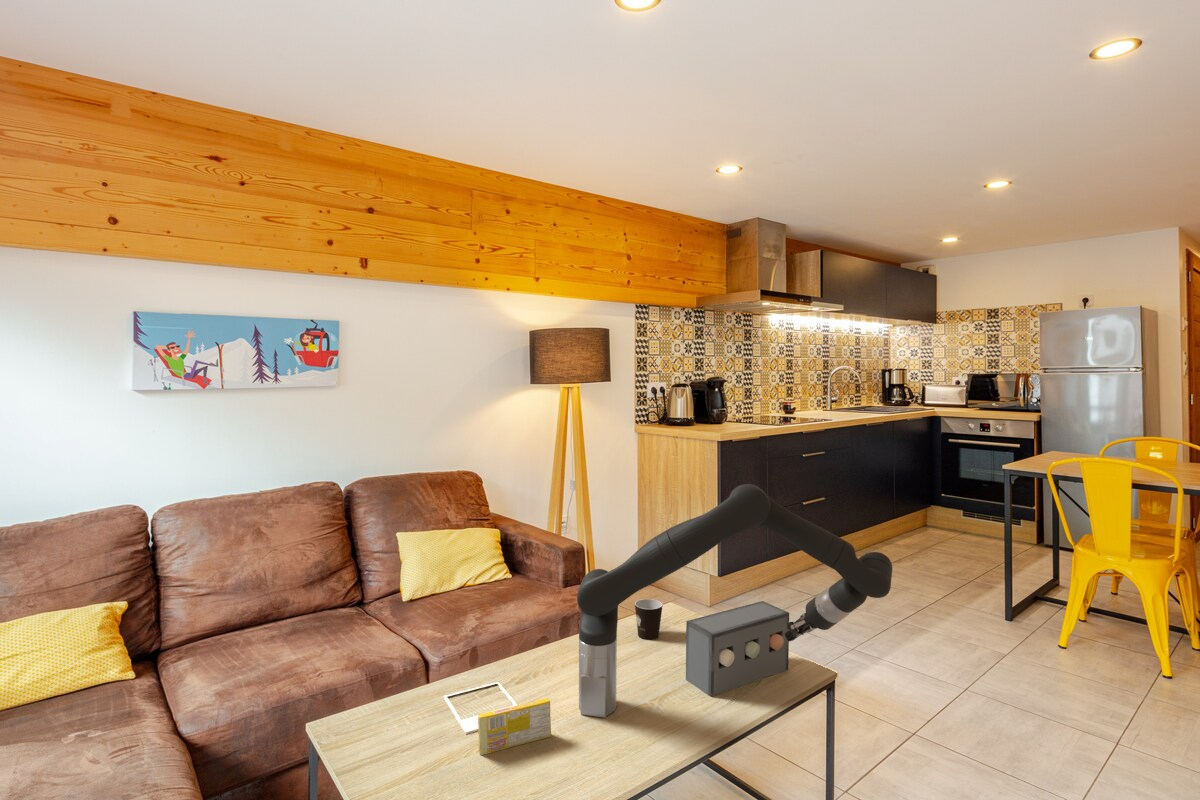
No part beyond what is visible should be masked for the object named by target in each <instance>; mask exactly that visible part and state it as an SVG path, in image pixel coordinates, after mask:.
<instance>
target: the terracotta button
mask: <svg viewBox="0 0 1200 800" xmlns="http://www.w3.org/2000/svg"><path fill="white" fill-rule="evenodd" d="M783 643H784V639H783V637H782V636H780V635H778V634H776V633H773V634H770V638H769V647H771V648H773V649H775V650H780V649H781V648H782V646H783Z"/></svg>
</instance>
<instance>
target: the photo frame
mask: <svg viewBox="0 0 1200 800" xmlns="http://www.w3.org/2000/svg"><path fill="white" fill-rule="evenodd" d="M495 685H498V688H499V689H500V691H501V692H502V693H503V695H504V696H505V697H506V699H508V701H509V702H510V703H511V705H510V706H506V707H502V708H499V709H496V710H501V709H505V708H509V707H513V706H517V705H518V704H517V703H516V701H515V700H514V699H513V697H512V696H511V695H510V693H508V691H507V690H506V689H505V687H503V685H502V684H501V683H500V681H497V682H496V681H495V682H492V683H489V684H488V683H487V684H485V685H481V686H478V687H474V688H469V689H465V690H461V691H457V692H454V693H451V694H447V695H446V694H445V695H443V699H444V701H445V703H446V704H447V706H448V708H449V710H450V711H451V713H452V714H453V716H454V718H455V719H456V721H457V722H458V724H459V726H460V727H461V729H462V731H463V732H464V734H465V735H468V734H471V733H475V732H478V715H479V714H478V715H475V716H470V717H467V718H463V719H461V717H460V715H459V714H458V713H457V710H456V709H455V707H454V706H453V704H452V702H451V701H450V699H449V697H451V696H452V697H453V696H456V695H461V694H464V693H467V692H471V691H475V690H479V689H483V688H486V687H490V686H495ZM496 710H494V711H496ZM492 711H493V710H492ZM492 711H490V712H492Z"/></svg>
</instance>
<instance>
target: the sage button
mask: <svg viewBox="0 0 1200 800" xmlns="http://www.w3.org/2000/svg"><path fill="white" fill-rule="evenodd" d="M759 651H760V646H759V644H757V643H756V642H754V641H752V640H750V641H747V642H745V655H747V656H749V657H751V658H755V657H757V656H758V654H759Z"/></svg>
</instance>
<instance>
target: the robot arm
mask: <svg viewBox="0 0 1200 800" xmlns="http://www.w3.org/2000/svg"><path fill="white" fill-rule="evenodd" d="M757 526H760V527H761V528H764V529H766V530H769V531H770V532H772V533H774V534H776V535H778V536H779V537H782V538H783V539H785V540H786V541H788V542H789V543H791V544H792V545H793V546H795V547H796V548H797V549H799V550H801V551H802V552H803V553H805V554H806V555H808V556H809V557H812V558H813V559H814V560H816V561H818V562H820V563H822V564H824V565H826V566H827V567H829V568H830V569H833V570H834V571H836V573H838V574H839V576H840V577H842V578H840V579H839V580H837V581H836V582H835V583H833V584H832V585H831V586H829V587H826V588H825V589H824V590H822V591H821V592H820V593H818V594H817V595H816V596H815V597H813V598H812V599H810V600H809V601H808V602H807V603H806V604H805V613H803V614H801V615H800V616H799V618H798V619H796V621H795V620H794V621H789V623H788V629H789V631H788V632H786V633H785V637H786V638H787V640H788V641H789V643H790V642H793V641H795V640H796V639H798V637H800V636H803V635H805V634H808V633H811V632H813V631H814V630H816V629H818V630H821V631H827V630H829V629H831V628H833V627H834V626H835V625H837V624H838V623H840V622H842V620H844V619H845V618H847V617H848V616H849V615H850V614H851V612H853V611H855V610H856V609H857V608H859V607H861V605H863V604H864V603H865V601H866V600H867V598H868V597H870V598H872V599H873V598H874V599H881V598H884V597H886V596H888V594H889V593H890V590H891V588H892V577H893V564H892V562H891V559H890V558H889V557H888V556H887V555H886V554H884V553H882V552H880V551H879V552H878V551H870V552H867V553H865V554H863V555H861V556H859V558H858V556H857V554H856V550H855V547H854V545H852V544H851V543H849V542H848V540H844V538H841V537H839V536H837V535H835V534H834V533H832V532H830V531H828V530H826V529H825V528H824V527H820V526H819V525H817V524H814V523H813V522H812V521H809V520H807V519H805V518H803V517H801V516H799V515H797V514H795V513H793V512H792V511H790V510H788V509H787V508H785V507H784V506H782V505H781V504H779V503H778V502H777V501H775V500H774V499H773V498H772V497H770V496H769V495H768V494H767V493H766V492H765V491H764V490H763V489H762V488H761V487H759V486H757V485H755V484H752V483H744V484H741V485H740V484H739V485H738V486H736V487H735V488H734V489H732V490H731V492H730V494H729V496H728V497H727V498H726V499H725V500H724V501H722V502H721V503H719V504H717V505H716V506H715V507H713V508H712V509H710V510H709V511H707V512H705V513H704V514H701V515H699V516H695V517H694V518H690V519H687V520H685V521H683V522H680V523H678V524H676V525H674V526H672V527H669V528H667V529H666V530H664V531H662V532H661V533H659V534H657V535H655V536H654V537H653V538H651V539H650V540H648V541H647V542H646V543H644V545H642V546H641V547H640V548H638V549H637V551H635V552H634V553H633V554H632V555H631V556H630V557H629V558H628V559H627V560H625V561H624V562H622V564H620V565H618V566H617V567H615V568H614V569H611V570H609V571H608V570H606V569H602V568H596V569H592V570H590V571H588V572H587V573H586V574H585V575H584V577H583V578H582V580H581V583H580V585H579V588H578V590H577V595H576V602H577V605H578V608H579V609H580V618H579V625H578V708H579V710H580V715H583V716H584V715H585V716H590V717H596V718H597V717H598V718H607V716H608V715H610V714H613V713H614V712H615V711H616V709H617V659H618V658H617V656H618V655H617V653H618V652H617V651H618V650H617V647H618V646H617V645H618V641H617V640H618V639H617V638H618V624H619V623H618V620H619V605H621V604H622V603H623V602H625V601H626V600H628V599H629V598H630V597H631V596H633V595H634V594H636V593H638V592H639V591H641V590H642V589H644V588H645V589H646V587H649V586H651V585H653V584H654V583H656V582H659V581H660V580H661V579H664V578H665V577H668V576H669V575H671V574H673V573H674V572H677V571H679V570H680V569H682V568H683V567H686V566H687V565H689V564H690V563H692V562H693V561H695V560H697V559H698V558H700V557H701V556H703V555H705V554H706V553H707V552H709V551H710V550H712V549H713V548H715V547H716V546H718V545H719V544H720V543H722V542H724V541H725V540H727V539H729V538H731V537H734V536H735V535H737V534H740V533H742V532H744V531H746V530H749V529H751V528H755V527H757Z"/></svg>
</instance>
